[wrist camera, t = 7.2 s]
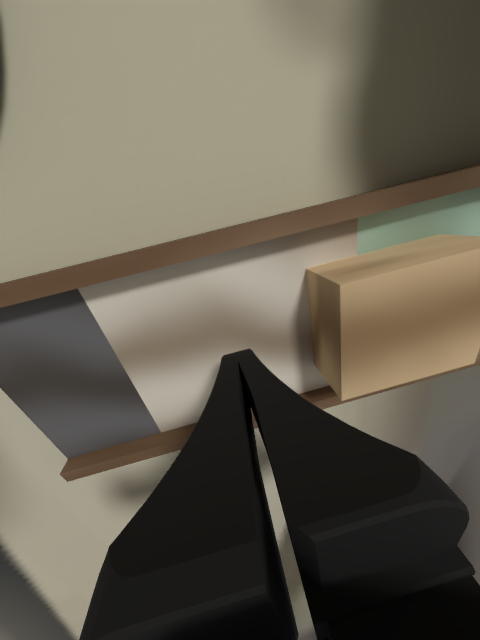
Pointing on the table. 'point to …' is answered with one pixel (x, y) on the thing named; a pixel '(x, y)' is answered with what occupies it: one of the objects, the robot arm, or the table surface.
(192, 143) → the table surface
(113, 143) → the table surface
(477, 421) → the table surface
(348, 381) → the oak block
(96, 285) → the channel
